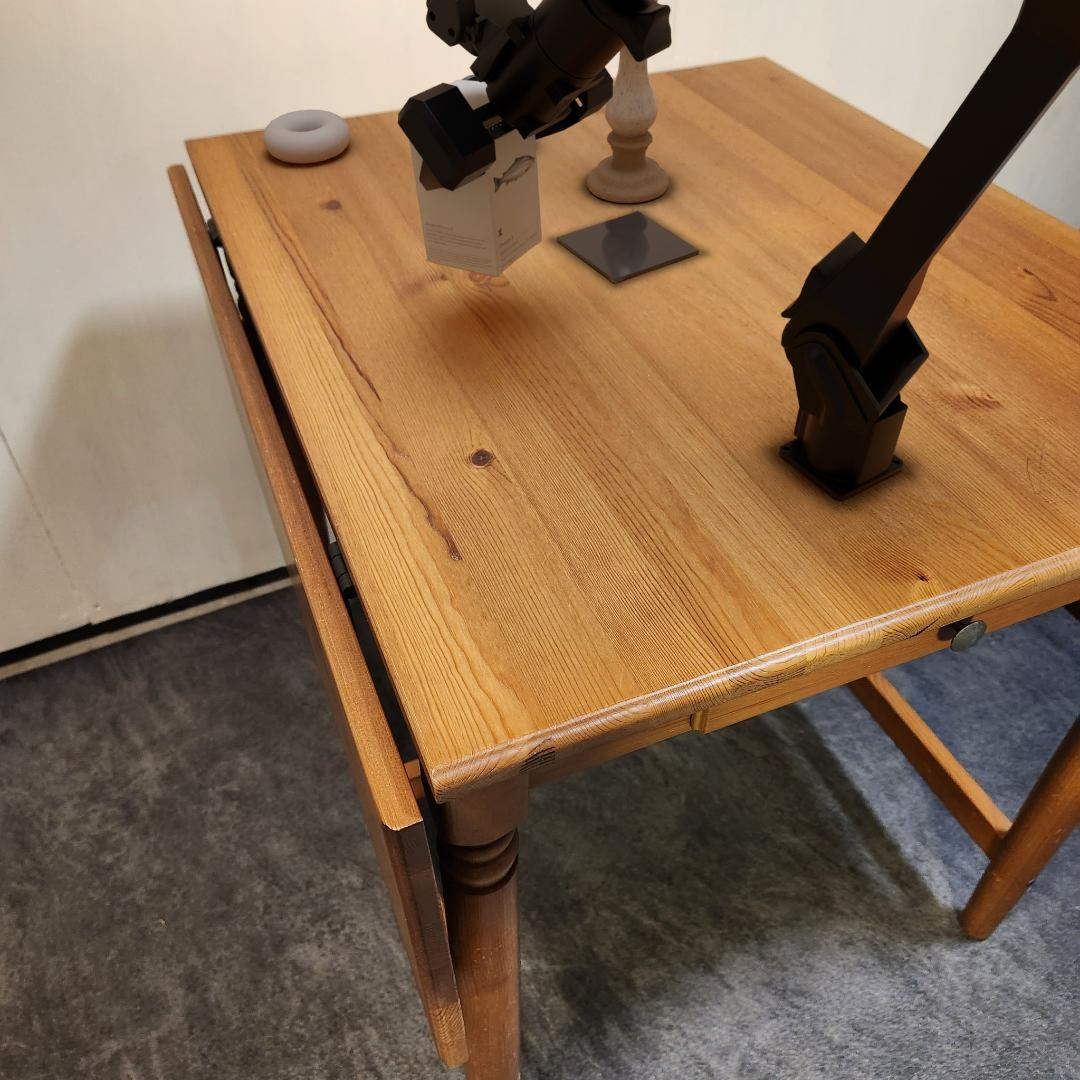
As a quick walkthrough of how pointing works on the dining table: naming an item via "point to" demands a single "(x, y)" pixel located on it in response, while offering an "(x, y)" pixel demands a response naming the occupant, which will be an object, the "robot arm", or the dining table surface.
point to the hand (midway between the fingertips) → (460, 165)
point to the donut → (306, 136)
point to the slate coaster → (627, 246)
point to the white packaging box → (484, 205)
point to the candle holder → (629, 139)
